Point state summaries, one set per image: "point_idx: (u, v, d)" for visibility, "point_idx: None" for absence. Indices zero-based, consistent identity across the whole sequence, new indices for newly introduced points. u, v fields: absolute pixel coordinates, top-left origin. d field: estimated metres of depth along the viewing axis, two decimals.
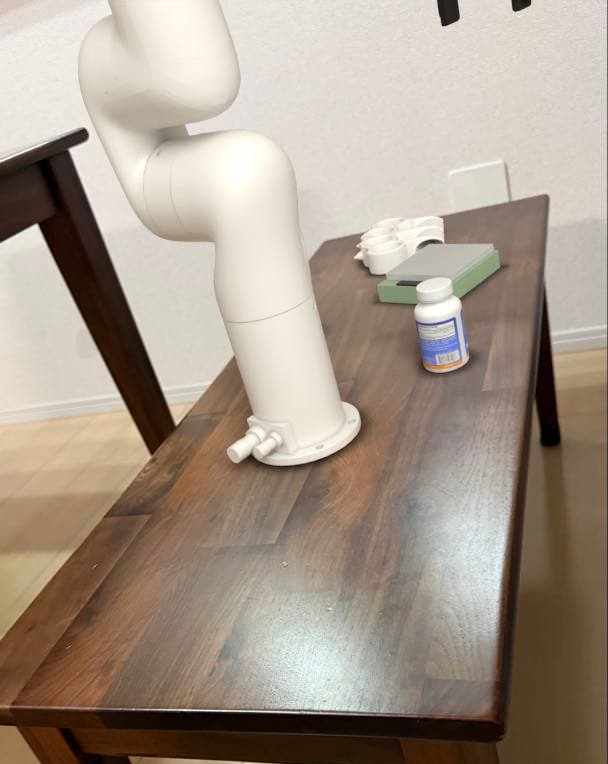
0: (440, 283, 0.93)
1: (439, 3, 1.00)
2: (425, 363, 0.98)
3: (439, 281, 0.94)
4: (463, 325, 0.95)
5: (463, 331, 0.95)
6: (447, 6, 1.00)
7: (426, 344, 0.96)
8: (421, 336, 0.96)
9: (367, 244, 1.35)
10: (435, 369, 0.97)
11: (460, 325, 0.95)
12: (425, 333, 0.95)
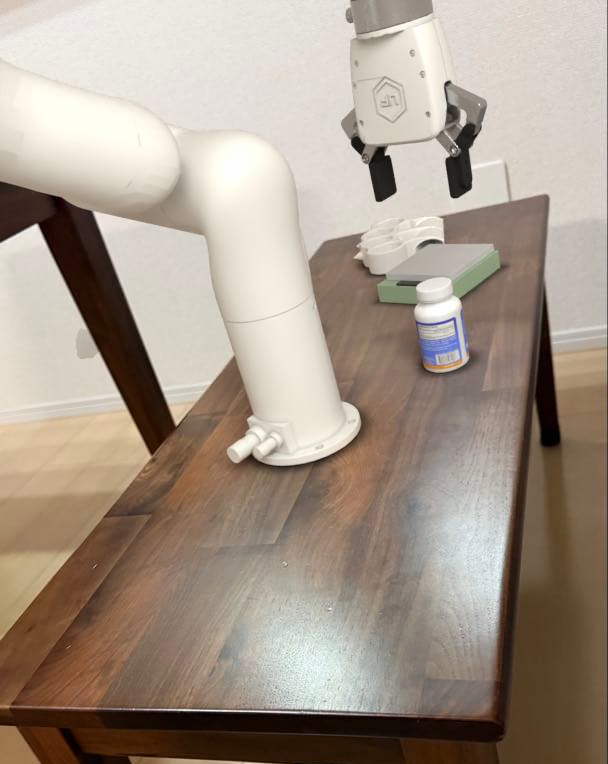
0: (439, 283, 0.93)
1: (372, 179, 0.90)
2: (425, 363, 0.98)
3: (439, 281, 0.94)
4: (463, 325, 0.95)
5: (463, 331, 0.95)
6: (381, 182, 0.91)
7: (426, 344, 0.96)
8: (421, 336, 0.96)
9: (367, 244, 1.35)
10: (435, 369, 0.97)
11: (460, 325, 0.95)
12: (425, 333, 0.95)
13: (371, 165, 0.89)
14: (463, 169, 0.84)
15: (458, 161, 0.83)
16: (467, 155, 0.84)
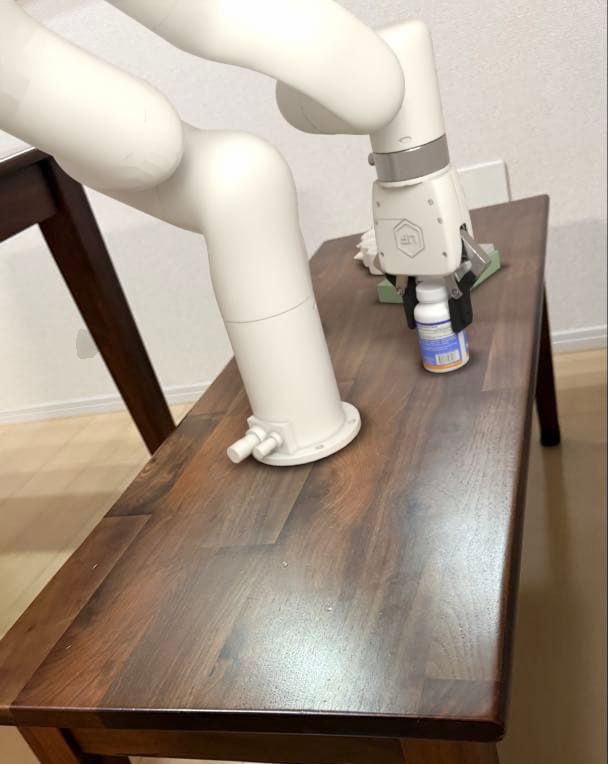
0: (439, 283, 0.93)
1: (405, 310, 0.96)
2: (425, 363, 0.98)
3: (439, 281, 0.94)
4: None
5: (463, 331, 0.95)
6: None
7: (426, 344, 0.96)
8: (421, 336, 0.96)
9: (367, 244, 1.35)
10: (435, 369, 0.97)
11: None
12: (425, 333, 0.95)
13: (405, 298, 0.95)
14: (464, 308, 0.92)
15: (459, 302, 0.92)
16: (468, 296, 0.92)
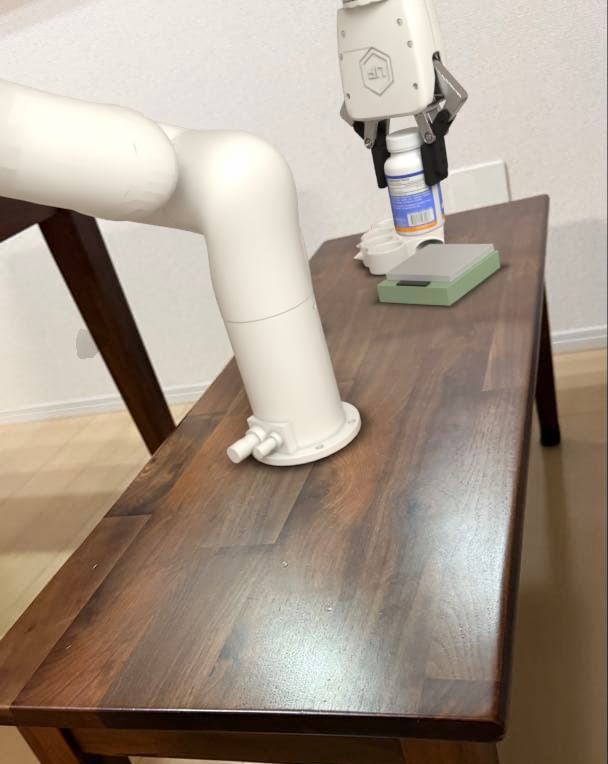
0: (412, 130, 0.84)
1: (375, 164, 0.87)
2: (396, 226, 0.89)
3: (411, 129, 0.85)
4: None
5: (438, 188, 0.87)
6: None
7: (398, 202, 0.87)
8: (391, 194, 0.87)
9: (367, 244, 1.35)
10: (407, 232, 0.88)
11: None
12: (396, 188, 0.86)
13: (374, 150, 0.86)
14: (438, 156, 0.83)
15: (433, 148, 0.83)
16: (442, 142, 0.83)
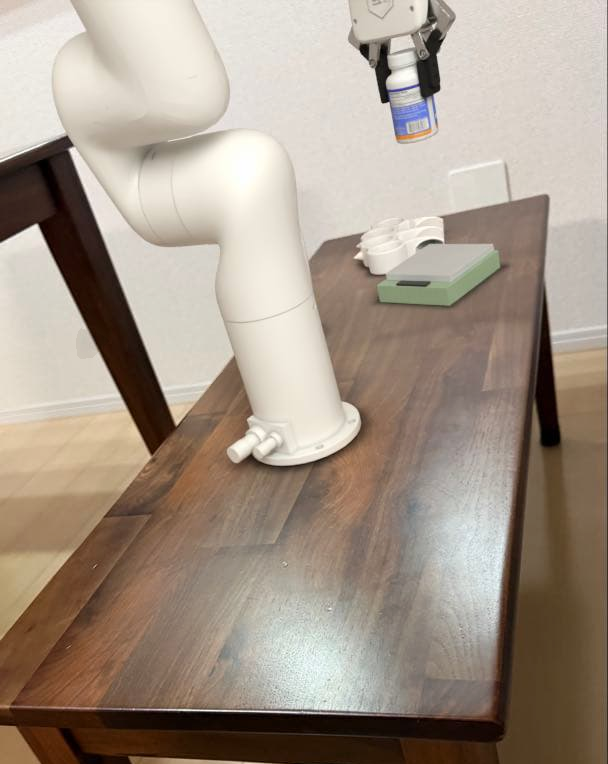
0: (409, 49, 1.00)
1: (378, 82, 1.03)
2: (397, 135, 1.04)
3: (409, 49, 1.00)
4: None
5: (432, 100, 1.02)
6: None
7: (398, 112, 1.02)
8: (392, 106, 1.02)
9: (367, 244, 1.35)
10: (406, 139, 1.04)
11: None
12: (396, 100, 1.01)
13: (377, 69, 1.02)
14: (432, 71, 0.99)
15: (427, 64, 0.98)
16: (435, 59, 0.98)
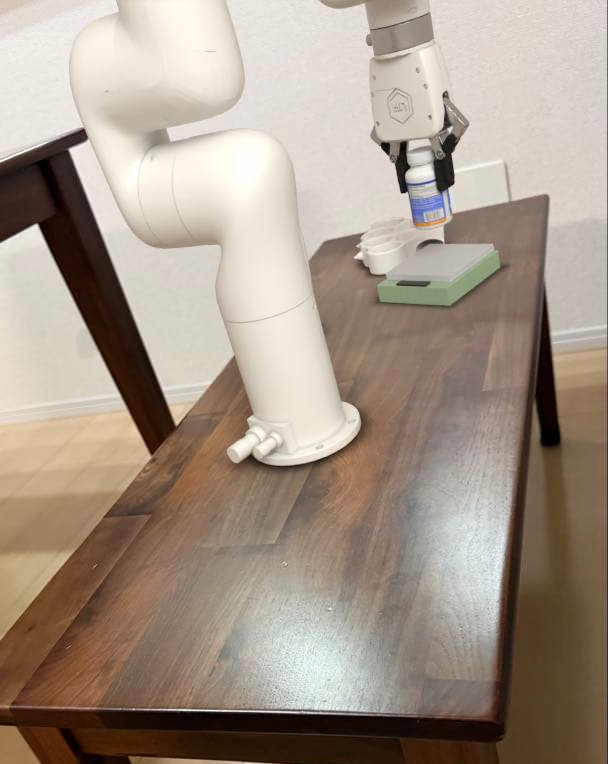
0: (426, 148, 1.10)
1: (398, 175, 1.13)
2: (415, 222, 1.15)
3: (426, 147, 1.11)
4: None
5: (447, 192, 1.12)
6: None
7: (416, 203, 1.13)
8: (411, 197, 1.13)
9: (367, 244, 1.35)
10: (423, 226, 1.14)
11: None
12: (415, 193, 1.12)
13: (397, 164, 1.12)
14: (447, 169, 1.09)
15: (443, 163, 1.09)
16: (450, 158, 1.09)
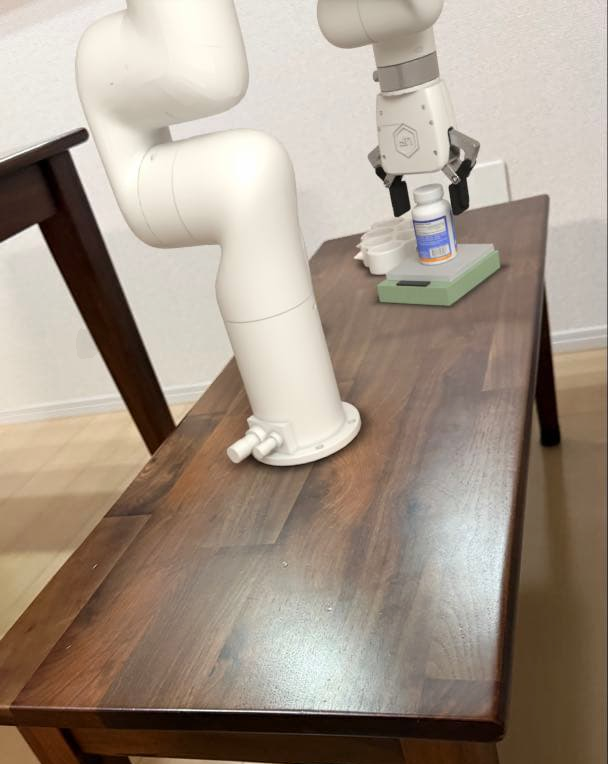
0: (432, 187, 1.13)
1: (392, 199, 1.16)
2: (421, 257, 1.18)
3: (432, 186, 1.13)
4: (452, 224, 1.15)
5: (452, 229, 1.15)
6: (399, 201, 1.16)
7: (422, 240, 1.15)
8: (417, 234, 1.15)
9: (367, 244, 1.35)
10: (429, 262, 1.17)
11: (449, 223, 1.14)
12: (421, 230, 1.14)
13: (391, 189, 1.15)
14: (462, 193, 1.10)
15: (458, 187, 1.09)
16: (465, 182, 1.09)
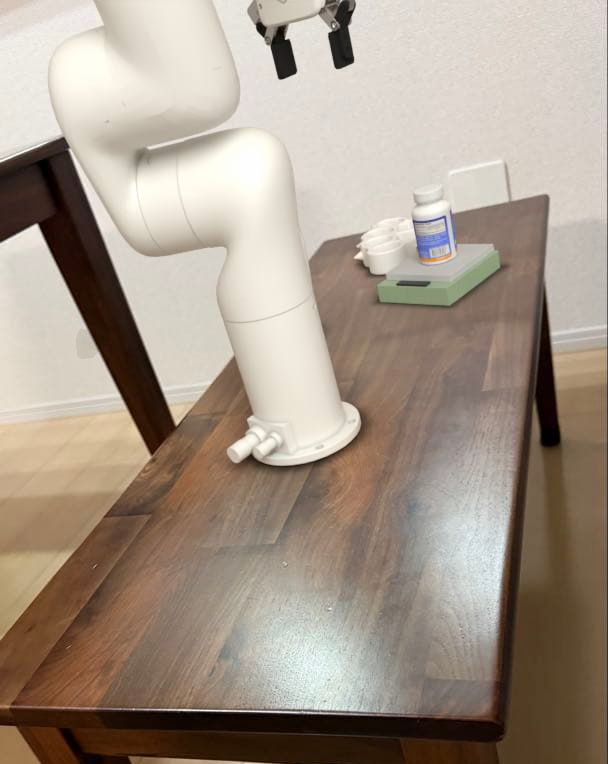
0: (432, 187, 1.13)
1: (274, 58, 1.07)
2: (421, 257, 1.18)
3: (432, 186, 1.13)
4: (452, 224, 1.15)
5: (452, 229, 1.15)
6: (282, 61, 1.07)
7: (422, 240, 1.15)
8: (417, 234, 1.15)
9: (367, 244, 1.35)
10: (429, 262, 1.17)
11: (449, 223, 1.14)
12: (421, 230, 1.14)
13: (272, 46, 1.06)
14: (343, 42, 1.00)
15: (338, 35, 1.00)
16: (346, 30, 1.00)
